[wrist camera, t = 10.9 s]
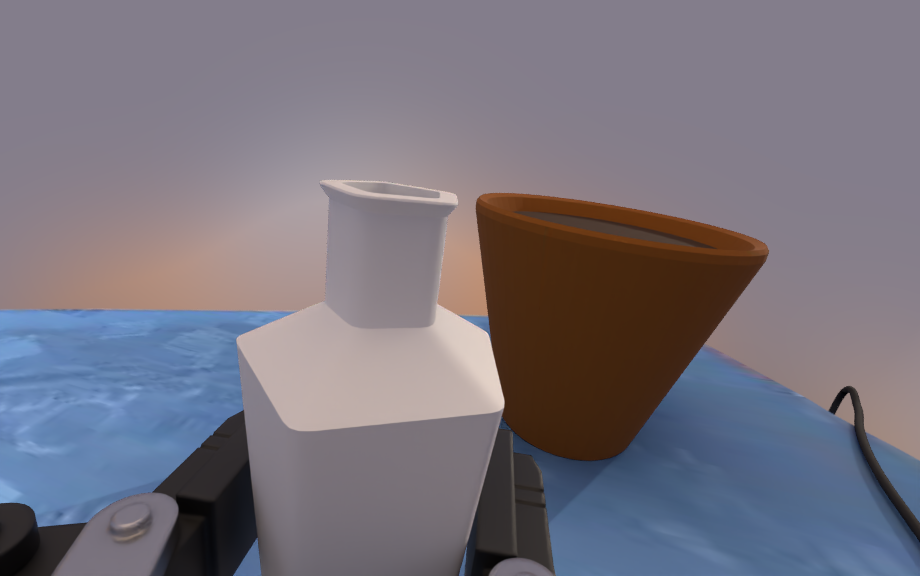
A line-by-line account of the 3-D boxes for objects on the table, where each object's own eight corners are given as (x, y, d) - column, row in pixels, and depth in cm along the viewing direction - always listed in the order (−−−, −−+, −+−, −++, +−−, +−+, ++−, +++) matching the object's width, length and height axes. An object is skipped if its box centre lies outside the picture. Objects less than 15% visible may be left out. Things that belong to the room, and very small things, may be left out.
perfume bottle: (193, 874, 9) (122, 168, 5) (312, 662, 14) (332, 167, 9) (386, 993, 8) (519, 240, 4) (451, 725, 13) (554, 203, 8)
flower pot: (486, 339, 59) (512, 188, 52) (676, 390, 52) (731, 224, 46) (406, 438, 37) (434, 202, 31) (714, 549, 30) (828, 275, 24)
